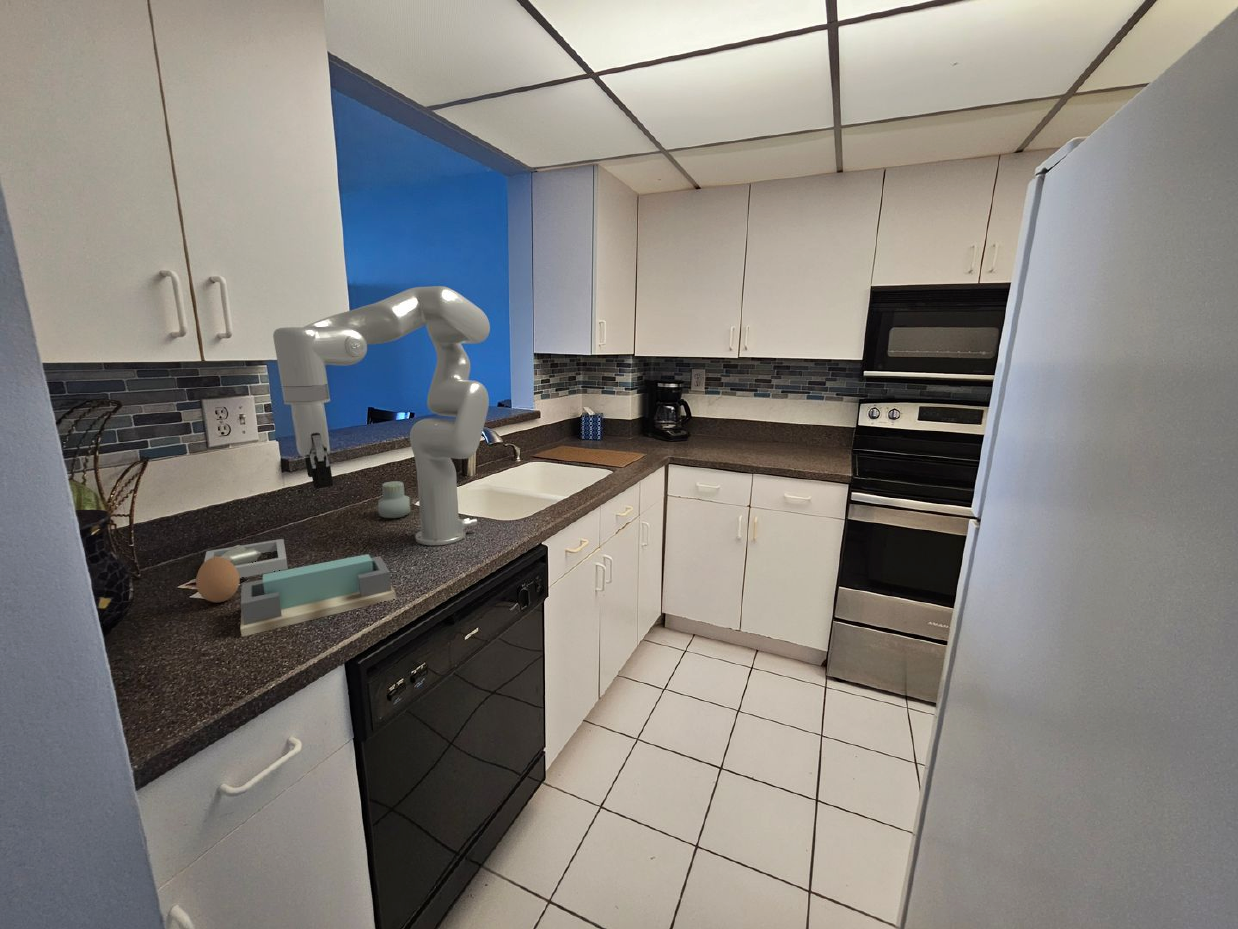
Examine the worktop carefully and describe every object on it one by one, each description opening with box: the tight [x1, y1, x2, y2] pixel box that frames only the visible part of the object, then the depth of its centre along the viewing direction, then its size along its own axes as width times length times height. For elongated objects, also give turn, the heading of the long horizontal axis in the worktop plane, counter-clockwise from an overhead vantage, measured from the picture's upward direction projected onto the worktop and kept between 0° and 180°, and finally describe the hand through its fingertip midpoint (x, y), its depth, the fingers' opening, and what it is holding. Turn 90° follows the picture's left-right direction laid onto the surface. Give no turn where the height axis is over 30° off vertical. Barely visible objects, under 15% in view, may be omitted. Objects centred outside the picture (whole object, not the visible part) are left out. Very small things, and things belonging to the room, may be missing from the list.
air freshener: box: [377, 480, 411, 519], centre depth 153 cm, size 11×8×10 cm
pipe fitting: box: [220, 544, 262, 566], centre depth 117 cm, size 8×4×7 cm
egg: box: [195, 557, 241, 604], centre depth 100 cm, size 7×7×9 cm
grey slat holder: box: [240, 555, 392, 625], centre depth 99 cm, size 24×10×4 cm, turn 125°
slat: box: [262, 553, 373, 610], centre depth 100 cm, size 18×4×6 cm, turn 125°
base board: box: [240, 584, 397, 638], centre depth 100 cm, size 25×12×2 cm, turn 125°
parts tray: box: [203, 538, 289, 579], centre depth 117 cm, size 15×15×2 cm
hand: (320, 481), depth 101 cm, fingers open, 9 cm apart
